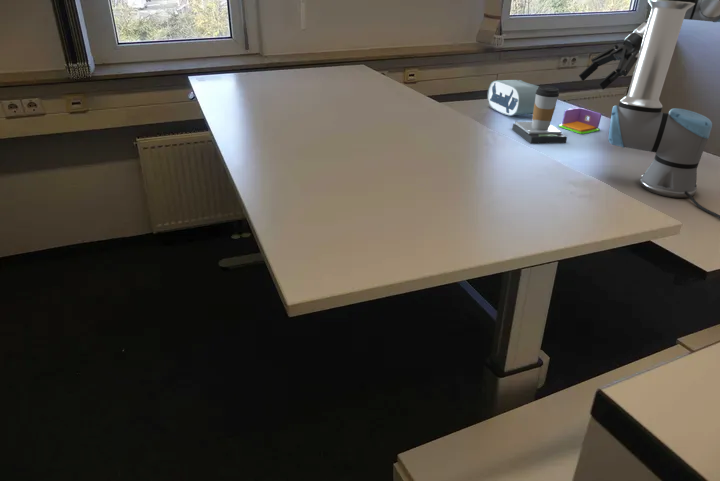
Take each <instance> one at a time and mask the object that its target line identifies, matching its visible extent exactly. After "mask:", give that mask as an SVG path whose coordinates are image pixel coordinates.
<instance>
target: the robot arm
mask: <svg viewBox="0 0 720 481" xmlns="http://www.w3.org/2000/svg"><path fill="white" fill-rule="evenodd" d="M647 3H648V4H649V5H650V7H651V10H650V14H649V17H648V18H647V19H646V20H645V21H643V22H642V23H641V24H640V25H639V26H637V28H635V29H634V30H633V32H631V33H630V34H628V35H627V36H626V37H625V38H624V39H623V43H622V45H620V46H619V45H618V43H616V44H614V45H613V46H611V47H610V48H608V49H607V50H605V51H603V52H601V53H600V54H598V55H596V56H594V57H592V58H591V59H590V62H591V64H590V65H588V66H587V67H586V68H585V69H584V70H583V71H582V72H580V74H578V77H579V78H580V80H581V81H582V82H584V81H585V80H586V79H587V78H589V77H590V76H591V75H592V74H593V73H594V72H596V71H597V70H598V69H599V67H601V66H603V65H606V64H608V63H610V62H612V61H613V62H616V61H619V62H618V65H617V67H616V68H615V70H612V72H610V73H609V74H608V75H607V76H606V77H605V78H603V79H602V80H601V81H600V82H599V83H598V86H599V87H600V88H601V90H603V91H604V90H605V89H606V88H607V87H608V86H610V85H611V84H612V83H614V82H615V81H616V80H617V79H618V78H619V77H626V76H628V75H629V73H630V72H631V70H632V68H633V67H634V70H633V73H632V77H631V80H630V84H629V87H628V91H627V95H626V96H624V97H622V98H621V99H620V100H619V102H618V105H614V106H612V108H611V116H610V121H609V130H608V142H609V144H610V145H612V146H617V147H620V148H622V149H625V148H626V149H632V150H638V151H644V152H649V153H655V155H654V158H653V160H652V162H651V163H650V165H649V166H648V168H647V169H646V171H645V172H643V174H642V175H641V176H640V179H639V185H640V186H641V187H642V188H643V189H644V190H646V191H649V192H651V193H653V194H654V195H655V194H656V195H659V196H662V197H667V198H672V199H673V198H674V199H690V200H691V202H692V203H693V204H694V205H695V207H697V208H699V209H701V210H702V211H704V212H706V213H708V214H710V215H712V216H714V217H716V218H718V219H720V214H718V213H717V212H714V211H712V210H709V209H708V208H706V207H704V206H702V205H701V204H699V202H697V201H696V199H695V198H694V196H695V195H696V192H697V188H698V187H697V186H698V184H697V180H698V179H697V178H698V176H697V174H698V173H697V170H698V167H699V164H700V161H701V159H702V156H703V153H704V150H705V147H706V145H707V142H708V140H709V139H710V136H711V131H712V128H713V122H712V121H711V119H710V118H709V117H707V116H705V115H703V114H701V113H698V112H696V111H692V110H690V109H684V108H677V107H675V108H671V109H669V111H668V112H662V110H663V104H662V102H661V100H660V97H661V94H662V90H663V87H664V84H665V81H666V77H667V74H668V71H669V68H670V65H671V62H672V59H673V58H672V57H673V55H674V52H675V48H676V45H677V42H678V40H679V35H680V32H681V29H682V26H683V24H684V20H687V21H688V20H689V21H691V20H692V21H700V22H701V21H703V22H712V23H720V0H647ZM634 65H635V66H634Z"/></svg>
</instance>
